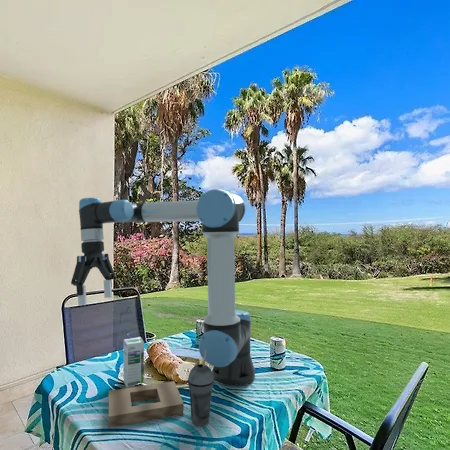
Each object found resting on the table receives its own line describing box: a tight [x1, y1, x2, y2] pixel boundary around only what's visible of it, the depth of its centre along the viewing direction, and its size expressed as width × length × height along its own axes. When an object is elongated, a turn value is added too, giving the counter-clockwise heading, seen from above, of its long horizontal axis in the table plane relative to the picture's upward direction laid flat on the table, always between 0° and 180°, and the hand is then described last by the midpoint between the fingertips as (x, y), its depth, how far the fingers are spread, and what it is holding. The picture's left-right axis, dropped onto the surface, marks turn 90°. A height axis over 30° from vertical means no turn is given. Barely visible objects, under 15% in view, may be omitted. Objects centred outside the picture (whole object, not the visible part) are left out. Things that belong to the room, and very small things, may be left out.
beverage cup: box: [187, 349, 215, 428], centre depth 91 cm, size 7×7×20 cm
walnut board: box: [108, 380, 185, 429], centre depth 97 cm, size 20×14×3 cm
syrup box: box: [122, 336, 145, 388], centre depth 112 cm, size 6×6×14 cm
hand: (96, 301), depth 118 cm, fingers open, 13 cm apart
